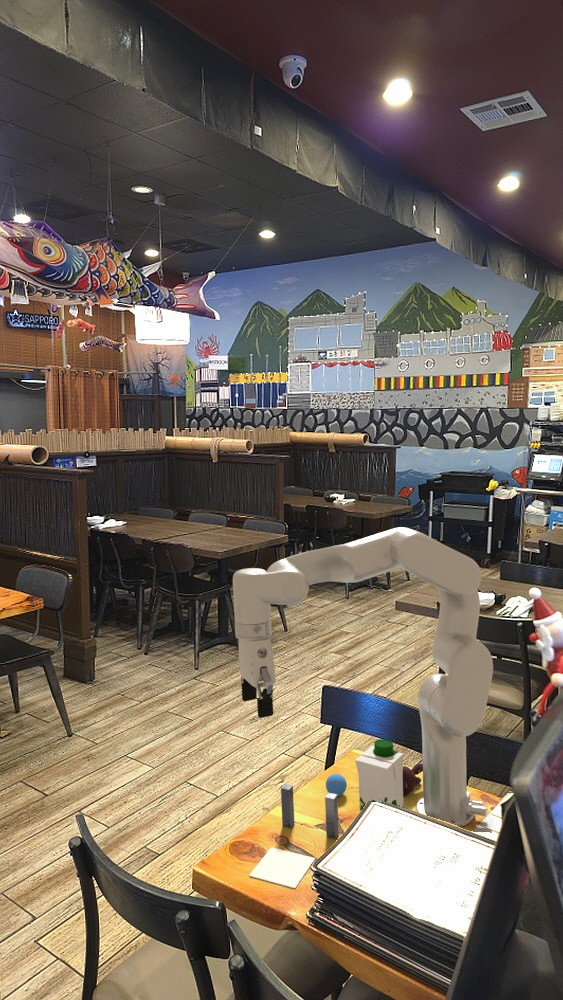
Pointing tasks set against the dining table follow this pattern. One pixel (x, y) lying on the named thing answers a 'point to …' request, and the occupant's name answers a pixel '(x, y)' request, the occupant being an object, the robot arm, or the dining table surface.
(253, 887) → the dining table surface
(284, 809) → the left post
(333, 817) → the right post
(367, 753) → the milk carton
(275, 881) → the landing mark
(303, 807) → the dining table surface
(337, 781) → the ball
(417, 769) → the icecream
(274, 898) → the dining table surface
